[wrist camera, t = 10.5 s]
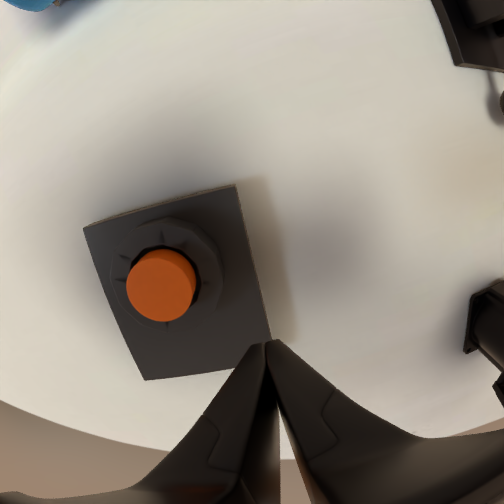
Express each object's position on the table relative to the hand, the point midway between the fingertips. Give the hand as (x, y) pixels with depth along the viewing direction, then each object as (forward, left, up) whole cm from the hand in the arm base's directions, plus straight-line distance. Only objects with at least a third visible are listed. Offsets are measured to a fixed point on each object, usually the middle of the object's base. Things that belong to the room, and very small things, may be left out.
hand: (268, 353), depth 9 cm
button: (0, +5, -9) cm, 10 cm away
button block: (-2, +5, -12) cm, 13 cm away
